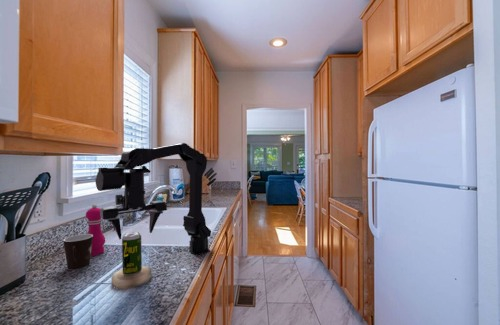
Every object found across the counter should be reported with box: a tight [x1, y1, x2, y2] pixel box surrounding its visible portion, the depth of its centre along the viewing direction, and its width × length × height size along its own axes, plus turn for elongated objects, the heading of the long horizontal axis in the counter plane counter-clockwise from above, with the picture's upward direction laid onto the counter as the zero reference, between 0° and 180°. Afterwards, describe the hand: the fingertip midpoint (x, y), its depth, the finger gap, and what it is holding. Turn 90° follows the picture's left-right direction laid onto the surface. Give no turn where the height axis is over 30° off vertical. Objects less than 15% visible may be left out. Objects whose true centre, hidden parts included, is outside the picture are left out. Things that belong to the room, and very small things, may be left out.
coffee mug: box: [63, 233, 93, 271], centre depth 83 cm, size 12×9×10 cm
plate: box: [111, 265, 152, 290], centre depth 74 cm, size 11×11×2 cm
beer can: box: [121, 231, 143, 277], centre depth 74 cm, size 5×5×12 cm
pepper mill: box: [85, 203, 106, 257], centre depth 97 cm, size 7×7×20 cm
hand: (136, 235), depth 77 cm, fingers open, 9 cm apart
